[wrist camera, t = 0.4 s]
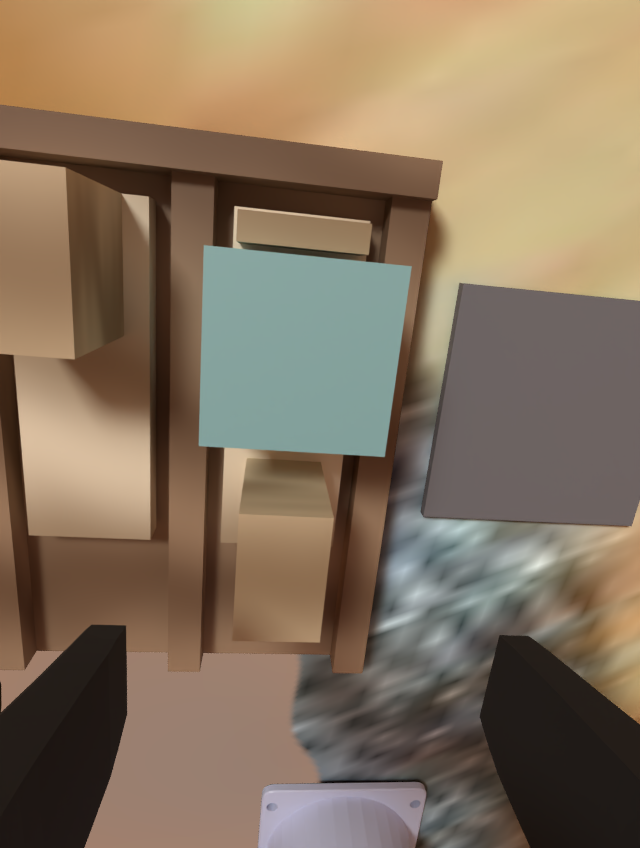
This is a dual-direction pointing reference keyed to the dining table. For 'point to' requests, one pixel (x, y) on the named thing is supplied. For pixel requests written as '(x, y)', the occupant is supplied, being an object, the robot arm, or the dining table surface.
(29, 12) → the dining table surface
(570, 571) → the dining table surface
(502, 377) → the felt pad
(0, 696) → the kendama
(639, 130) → the dining table surface
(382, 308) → the cube
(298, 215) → the strip
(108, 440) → the strip
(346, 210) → the lane board
